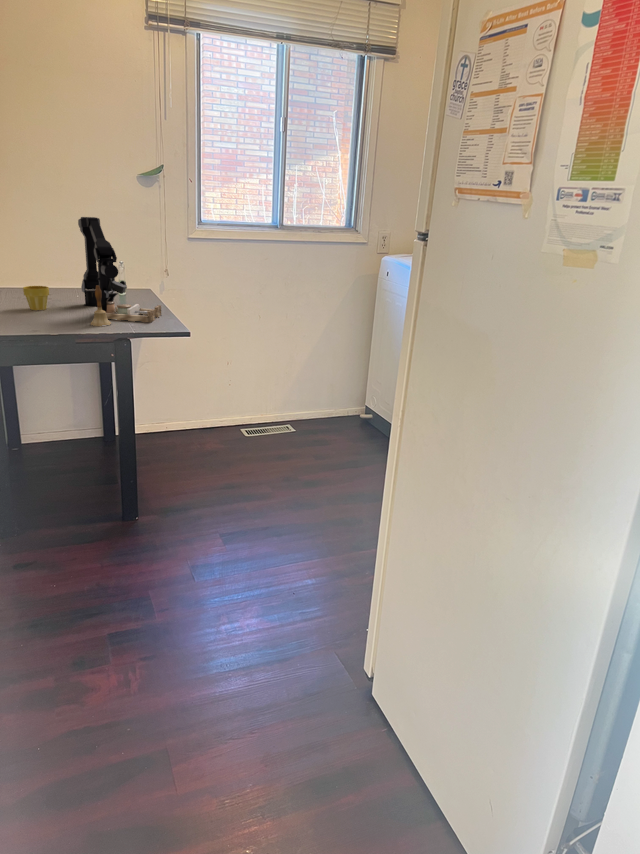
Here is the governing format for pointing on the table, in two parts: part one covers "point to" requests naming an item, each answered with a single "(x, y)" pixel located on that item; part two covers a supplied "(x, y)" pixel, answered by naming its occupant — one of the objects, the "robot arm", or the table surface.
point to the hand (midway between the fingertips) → (107, 311)
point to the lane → (151, 315)
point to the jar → (110, 307)
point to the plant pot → (36, 297)
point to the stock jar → (123, 308)
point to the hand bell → (99, 310)
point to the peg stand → (135, 310)
